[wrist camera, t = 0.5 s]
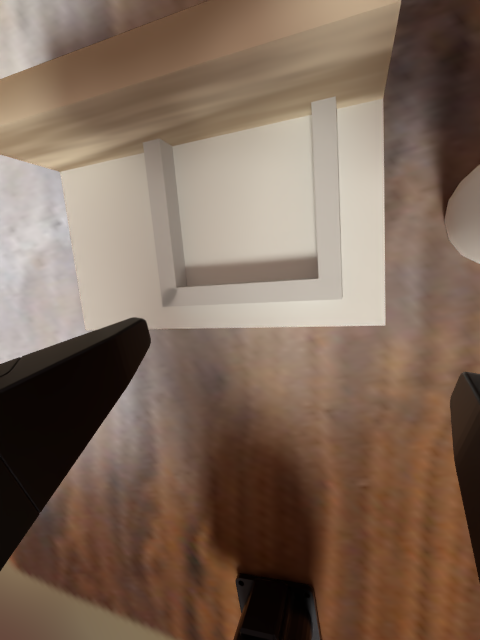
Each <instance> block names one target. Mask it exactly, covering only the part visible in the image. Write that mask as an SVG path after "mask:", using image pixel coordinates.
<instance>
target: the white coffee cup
mask: <svg viewBox="0 0 480 640" xmlns="http://www.w3.org/2000/svg"><path fill="white" fill-rule="evenodd" d="M444 222H445V226H446V230H447V234H448V238H449V241H450V242H451V243H452V244H453V246H454V247H455V248H456V249H457V250H458V251H459V253H460V254H461V255H462V256H464V257H466V258H468V259H471V260H473V261H475V262H477V263H479V264H480V165H478V166H477V167H476V168H475V169H474V170H473V171H472V172H471V173H470V174H468V175H467V176H466V177H465V178H464V179H463V180H462V181H461V182H460V183H459V185H458V186H457V188H456V190H455V191H454V193H453V194H452V196H451V197H450V199H449V200H448V205H447V210H446V215H445V220H444Z"/></svg>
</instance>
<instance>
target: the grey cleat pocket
mask: <svg viewBox="0 0 480 640" xmlns="http://www.w3.org/2000/svg"><path fill="white" fill-rule="evenodd" d="M311 108H312V115H308V116H304V117H299V118H295V119H290V120H286V121H282V122H277V123H273V124H268V125H264V126H260V127H255V128H251V129H246V130H242V131H238V132H233V133H229V134H224V135H220V136H216V137H211V138H207V139H202V140H198V141H193V142H189V143H185V144H180V145H176V146H171V145H169V144H168V143H166V142H165V141H163V140H161V139H155V140H151V141H147V142H143V149H144V153H141V154H136V155H132V156H127V157H123V158H118V159H114V160H110V161H105V162H101V163H96V164H92V165H88V166H83V167H79V168H74V169H70V170H66V171H61V172H60V174H61V180H62V187H63V193H64V199H65V205H66V212H67V218H68V224H69V230H70V237H71V243H72V249H73V255H74V262H75V268H76V274H77V280H78V286H79V293H80V299H81V305H82V311H83V318H84V324H85V330H98V329H101V328H103V327H106V326H109V325H112V324H115V323H117V322H120V321H123V320H126V319H129V318H132V317H137V318H143V319H145V320H146V322H147V325H148V329H194V328H255V327H316V326H377V325H385V232H384V129H383V99H379V100H374V101H370V102H365V103H361V104H357V105H352V106H348V107H343V108H339V109H337V104H336V96H335V97H331V98H327V99H323V100H318V101H314V102H311Z"/></svg>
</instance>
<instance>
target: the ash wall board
mask: <svg viewBox="0 0 480 640" xmlns="http://www.w3.org/2000/svg"><path fill="white" fill-rule="evenodd" d="M400 6H401V0H208V1H206V2H203V3H200V4H198V5H195V6H193V7H190V8H187V9H185V10H182V11H179V12H177V13H174V14H171V15H169V16H166V17H163V18H161V19H158V20H156V21H153V22H150V23H148V24H145V25H142V26H140V27H137V28H134V29H132V30H129V31H127V32H124V33H121V34H119V35H116V36H113V37H111V38H108V39H105V40H103V41H100V42H98V43H95V44H92V45H90V46H87V47H84V48H82V49H79V50H76V51H74V52H71V53H68V54H66V55H63V56H61V57H58V58H55V59H53V60H50V61H47V62H45V63H42V64H39V65H37V66H34V67H32V68H29V69H26V70H24V71H21V72H18V73H16V74H13V75H10V76H8V77H5V78H2V79H0V154H1V155H4V156H7V157H11V158H14V159H18V160H21V161H25V162H28V163H32V164H35V165H39V166H42V167H45V168H49V169H52V170H56V171H59V172H61V171H66V170H70V169H74V168H79V167H83V166H88V165H92V164H96V163H101V162H105V161H110V160H114V159H118V158H123V157H127V156H132V155H136V154H141V153H144V149H143V142H147V141H151V140H155V139H161V140H163V141H165V142H166V143H168V144H169V145H171V146H176V145H180V144H185V143H189V142H193V141H198V140H202V139H207V138H211V137H216V136H220V135H224V134H229V133H233V132H238V131H242V130H246V129H251V128H255V127H260V126H264V125H268V124H273V123H277V122H282V121H286V120H290V119H295V118H299V117H304V116H308V115H312V108H311V102H314V101H318V100H323V99H327V98H331V97H335V96H336V104H337V109H339V108H343V107H348V106H352V105H357V104H361V103H365V102H370V101H374V100H379V99H383V97H384V92H385V86H386V81H387V75H388V70H389V65H390V59H391V54H392V49H393V43H394V38H395V32H396V27H397V22H398V16H399V11H400Z"/></svg>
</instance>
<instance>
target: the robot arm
mask: <svg viewBox="0 0 480 640" xmlns="http://www.w3.org/2000/svg"><path fill="white" fill-rule="evenodd" d="M150 343H151V338H150V334H149V330H148V325H147V322H146V320H145V319H143V318H137V317H132V318H129V319H126V320H123V321H120V322H117V323H115V324H112V325H109V326H106V327H103V328H101V329H98V330H95V331H92V332H89V333H87V334H84V335H81V336H78V337H75V338H72V339H70V340H67V341H64V342H61V343H58V344H56V345H53V346H50V347H47V348H44V349H42V350H39V351H36V352H33V353H30V354H27V355H25V356H22V357H21V358H20V357H19V358H16V359H13V360H10V361H8V362H5V363H2V364H0V571H1V569H2V568H3V566H4V565H5V564H6V562H7V561H8V559H9V558H10V556H11V555H12V553H13V552H14V550H15V549H16V548H17V546H18V545H19V543H20V542H21V540H22V539H23V537H24V536H25V535H26V533H27V532H28V530H29V529H30V527H31V526H32V524H33V523H34V521H35V520H36V519H37V517H38V516H39V513H40V512H41V511H42V510H43V508H44V507H45V505H46V504H47V502H48V501H49V499H50V498H51V496H52V495H53V494H54V492H55V491H56V489H57V488H58V486H59V485H60V483H61V482H62V481H63V479H64V478H65V476H66V475H67V473H68V472H69V470H70V469H71V467H72V466H73V465H74V463H75V462H76V460H77V459H78V457H79V456H80V454H81V453H82V452H83V450H84V449H85V447H86V446H87V444H88V443H89V441H90V440H91V438H92V437H93V436H94V434H95V433H96V431H97V430H98V428H99V427H100V425H101V424H102V423H103V421H104V420H105V418H106V417H107V415H108V414H109V412H110V411H111V409H112V408H113V407H114V405H115V404H116V402H117V401H118V399H119V398H120V396H121V395H122V394H123V392H124V391H125V389H126V388H127V386H128V385H129V383H130V381H131V379H132V378H133V376H134V374H135V372H136V371H137V369H138V367H139V365H140V363H141V361H142V360H143V358H144V356H145V354H146V352H147V350H148V349H149V347H150ZM450 410H451V423H452V437H453V451H454V461H455V466H456V472H457V476H458V481H459V486H460V491H461V496H462V500H463V505H464V510H465V515H466V520H467V524H468V529H469V534H470V539H471V543H472V548H473V553H474V558H475V563H476V567H477V572H478V577H479V582H480V374H476V373H470V372H463V373H462V374H461V375H460V376H459V379H458V381H457V383H456V386H455V388H454V391H453V393H452V395H451V400H450ZM236 587H237V592H238V597H239V603H240V608H241V613H242V614H241V617H240V621H239V624H238V627H237V630H236V633H235V637H234V640H321V634H320V627H319V621H318V614H317V608H316V601H315V595H314V590H313V588H312V587H311V586H309V585H305V584H299V583H293V582H287V581H281V580H275V579H269V578H263V577H257V576H251V575H246V574H239V575H238V576H237V578H236ZM306 592H307V593H306Z"/></svg>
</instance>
